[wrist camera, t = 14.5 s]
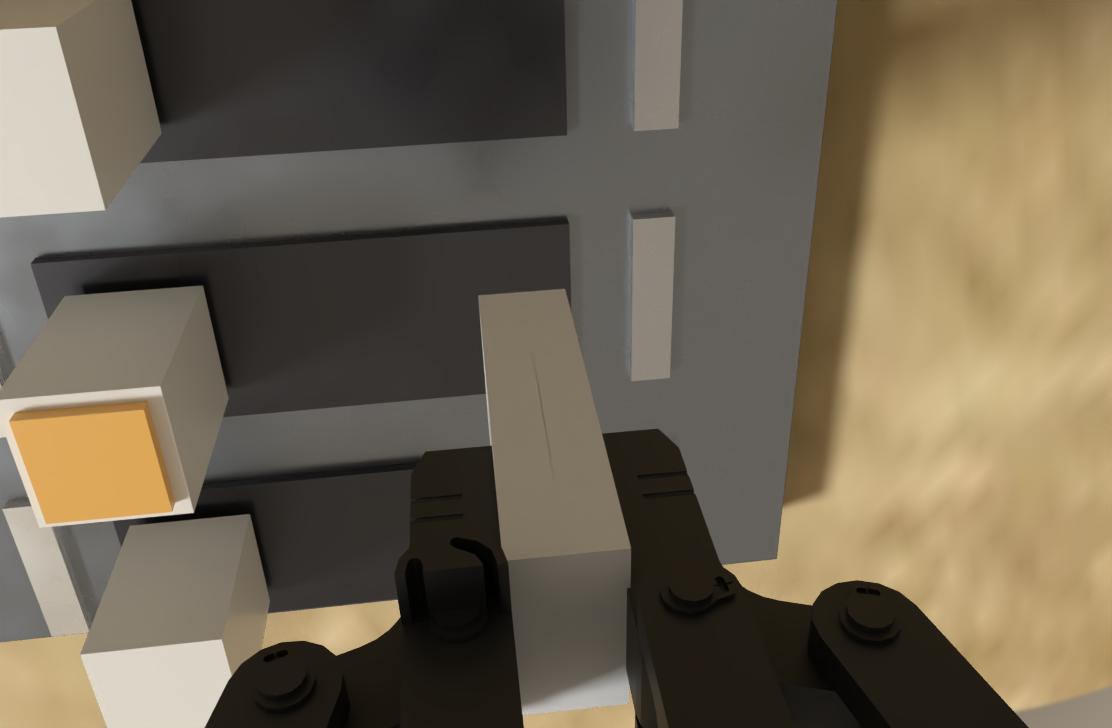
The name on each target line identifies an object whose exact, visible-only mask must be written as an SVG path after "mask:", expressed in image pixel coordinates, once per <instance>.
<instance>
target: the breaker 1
mask: <svg viewBox="0 0 1112 728" xmlns="http://www.w3.org/2000/svg"><path fill="white" fill-rule="evenodd" d="M161 134H162V132H161V127H160V123H159V119H158V114H157V110H156V106H155V101H154V97H153V93H152V88H151V84H150V80H149V75H148V71H147V67H146V62H145V58H144V54H143V49H142V45H141V41H140V37H139V32H138V28H137V24H136V19H135V15H134V11H133V6H132V2H131V0H0V218H1V217H15V216H30V215H44V214H58V213H73V212H87V211H102V210H106V209H107V207H108V206H109V205H110V203H111V202H112V201H113V199H114V198H115V197H116V195H117V194H118V192H119V191H120V190H121V188H122V187H123V186H124V184H125V183H126V181H127V180H128V179H129V177H130V176H131V175H132V173H133V172H134V171H135V169H136V168H137V166H138V165H139V164H140V162H141V161H142V160H143V158H144V157H145V156H146V154H147V153H148V151H149V150H150V149H151V147H152V146H153V145H154V143H155V142H156V140H157V139H158V138H159V136H160V135H161Z"/></svg>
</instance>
